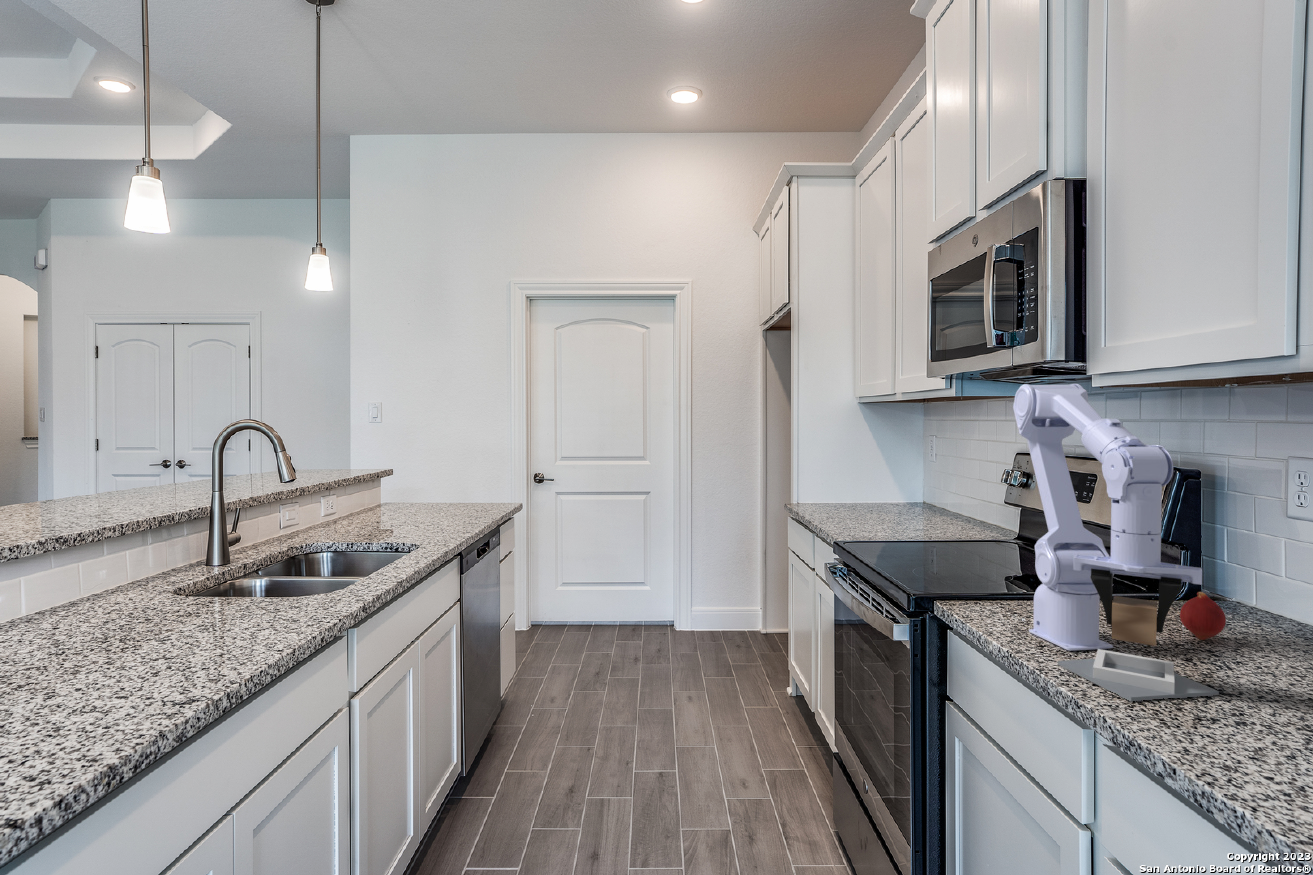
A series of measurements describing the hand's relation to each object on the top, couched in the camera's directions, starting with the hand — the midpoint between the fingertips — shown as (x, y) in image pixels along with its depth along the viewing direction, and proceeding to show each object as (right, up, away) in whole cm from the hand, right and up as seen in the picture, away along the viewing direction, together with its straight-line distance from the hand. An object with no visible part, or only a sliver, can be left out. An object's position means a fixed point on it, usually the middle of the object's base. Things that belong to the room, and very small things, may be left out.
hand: (1134, 626), depth 93 cm
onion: (+23, -7, +16) cm, 29 cm away
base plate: (0, -8, 0) cm, 8 cm away
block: (0, -2, 0) cm, 2 cm away
